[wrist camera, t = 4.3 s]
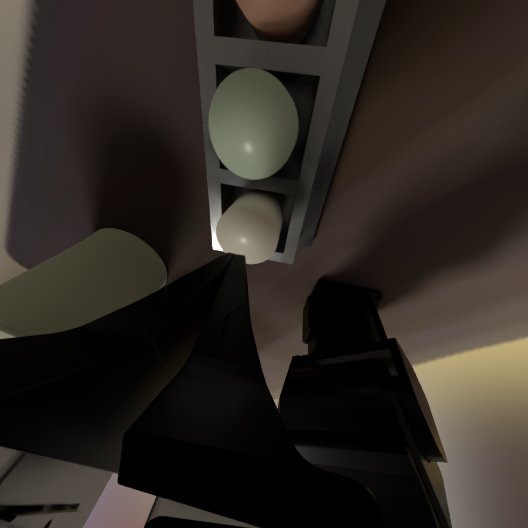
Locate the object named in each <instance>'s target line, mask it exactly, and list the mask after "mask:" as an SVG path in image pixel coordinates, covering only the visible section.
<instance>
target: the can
mask: <svg viewBox="0 0 528 528" xmlns="http://www.w3.org/2000/svg"><path fill="white" fill-rule="evenodd" d="M166 281H167V270H166V267H165V265H164V263H163V261H162V259H161V258H160V256H159V255H158V254H157V253H156V252H155V251H154V249H152V248H151V247H150V246H149V245H148V244H147V243H146V242H144V241H143V240H141V239H140V238H138V237H137V236H135V235H133V234H131V233H128V232H126V231H123V230H120V229H115V228H104V229H100V230H98V231H96V232H95V233H94V234H93V235H92V236H90V237H88V238H87V239H85V240H83V241H81V242H80V243H78V244H76V245H74V246H72V247H70V248H69V249H67V250H65V251H63V252H61V253H60V254H58V255H56V256H54V257H52V258H50V259H48V260H47V261H45V262H43V263H41V264H39V265H37V266H35V267H33V268H32V269H30V270H28V271H26V272H24V273H22V274H20V275H18V276H17V277H15V278H13V279H11V280H9V281H7V282H5V283H4V284H2V285H0V339H5V338H14V337H22V336H31V335H40V334H49V333H56V332H61V331H66V330H70V329H73V328H76V327H79V326H82V325H84V324H87V323H89V322H91V321H93V320H96V319H98V318H100V317H102V316H105V315H107V314H109V313H111V312H113V311H116V310H118V309H120V308H122V307H125V306H127V305H129V304H131V303H133V302H135V301H137V300H140V299H142V298H144V297H146V296H148V295H150V294H152V293H153V292H155V291H157V290H159V289H160V288H162V287H163V286H164V285H165V283H166Z"/></svg>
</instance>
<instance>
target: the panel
mask: <svg viewBox="0 0 528 528" xmlns="http://www.w3.org/2000/svg"><path fill="white" fill-rule="evenodd" d="M385 3H386V0H323V2H322V6H321V9H320V12H319V14H318V17H317V19H316V21H315V23H314V25H313V27H312V28H311V30H310V31H309V33H308V34H307V35H306V37H305V38H304V39H303V40H302V41H301V42H299V43H298V44H290V43H280V42H270V41H261V40H260V39H259V38H258V37H257V35H256V33H255V32H254V30H253V29H252V27H251V25H250V23H249V22H248V20H247V18H246V17H245V15H244V13H243V12H242V10H241V8H240V7H239V5H238V3H237V1H236V0H193V12H194V24H195V36H196V48H197V60H198V73H199V85H200V97H201V109H202V121H203V134H204V146H205V158H206V170H207V182H208V195H209V207H210V219H211V229H212V241H213V249H215V250H220V251H223V250H222V248H221V247H220V245H219V243H218V241H217V237H216V226H217V223H218V221H219V219H220V217H221V216H222V215H223V214H224V213H225V212H226V211H227V209H228V208H229V207H230V206H231V205H232V204H233V203H234V202H235V200H236V199H237V198H238V197H239V196H240V195H241V194H242V193H243V192H245V191H247V190H249V189H259V190H265V191H269V192H271V193H272V194H274V195H275V196H276V197H277V198H278V200H279V201H280V203H281V205H282V207H283V212H284V218H283V222H282V227H281V231H280V235H279V239H278V244H277V248H276V250H275V252H274V254H273V255H272V256H271V257H270V258H269V259H267V260H272V261H278V262H283V263H288V264H293V260H294V256H295V252H296V249H297V245H298V244H299V245H304V246H310V247H311V243H312V240H313V237H314V234H315V230H316V227H317V224H318V221H319V217H320V214H321V211H322V208H323V204H324V201H325V198H326V195H327V191H328V188H329V185H330V182H331V178H332V175H333V172H334V169H335V165H336V162H337V159H338V156H339V152H340V149H341V146H342V142H343V139H344V136H345V133H346V129H347V126H348V123H349V120H350V116H351V113H352V110H353V107H354V103H355V100H356V97H357V94H358V90H359V87H360V84H361V81H362V77H363V74H364V71H365V68H366V64H367V61H368V58H369V55H370V51H371V48H372V45H373V42H374V38H375V35H376V32H377V29H378V25H379V22H380V19H381V16H382V12H383V9H384V6H385ZM245 68H257V69H261V70H264V71H266V72H268V73H270V74H272V75H273V76H274V77H276V78H277V79H278V80H279V81H280V82H281V83H282V84H283V86H284V87H285V88H286V90H287V91H288V93H289V94H290V96H291V97H292V99H293V101H294V103H295V105H296V107H297V110H298V115H299V134H298V138H297V141H296V144H295V146H294V148H293V150H292V152H291V154H290V156H289V158H288V160H287V161H286V163H285V164H284V165H283V166H282V168H280V169H279V170H278V171H277V172H276V173H274V174H273V175H271V176H269V177H266V178H263V179H256V180H253V179H246V178H243V177H240V176H238V175H236V174H234V173H233V172H232V171H230V170H229V169H228V168H227V167H226V166H225V165H224V164H223V163H222V161H221V160H220V159H219V157H218V155H217V154H216V152H215V149H214V147H213V144H212V141H211V137H210V133H209V110H210V105H211V102H212V99H213V96H214V94H215V92H216V90H217V88H218V87H219V85H220V84H221V83H222V81H223V80H224V79H225V78H226V77H228V76H229V75H230V74H232V73H233V72H235V71H238V70H240V69H245Z"/></svg>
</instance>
